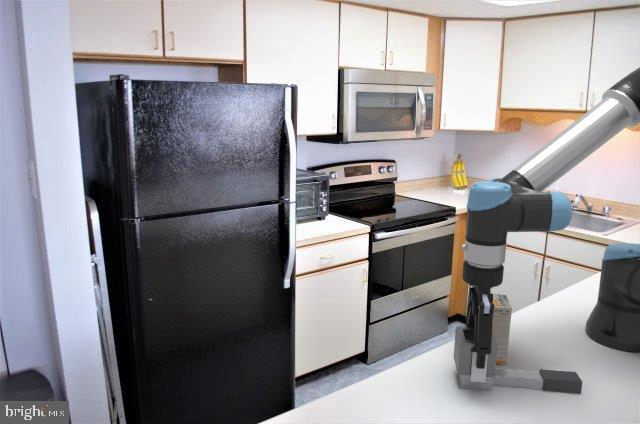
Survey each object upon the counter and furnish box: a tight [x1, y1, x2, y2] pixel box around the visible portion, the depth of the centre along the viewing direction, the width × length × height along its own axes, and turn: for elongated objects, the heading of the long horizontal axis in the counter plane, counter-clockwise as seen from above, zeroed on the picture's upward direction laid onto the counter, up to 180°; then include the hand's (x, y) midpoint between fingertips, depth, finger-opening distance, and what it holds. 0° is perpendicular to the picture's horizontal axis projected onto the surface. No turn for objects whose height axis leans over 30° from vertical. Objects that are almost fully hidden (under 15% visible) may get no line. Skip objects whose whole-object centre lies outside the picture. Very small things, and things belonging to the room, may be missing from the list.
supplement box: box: [492, 293, 513, 365], centre depth 114 cm, size 8×5×13 cm, turn 168°
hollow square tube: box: [453, 326, 498, 378], centre depth 103 cm, size 7×7×7 cm
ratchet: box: [457, 368, 583, 395], centre depth 103 cm, size 23×6×7 cm, turn 82°
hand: (474, 369), depth 104 cm, fingers open, 8 cm apart
